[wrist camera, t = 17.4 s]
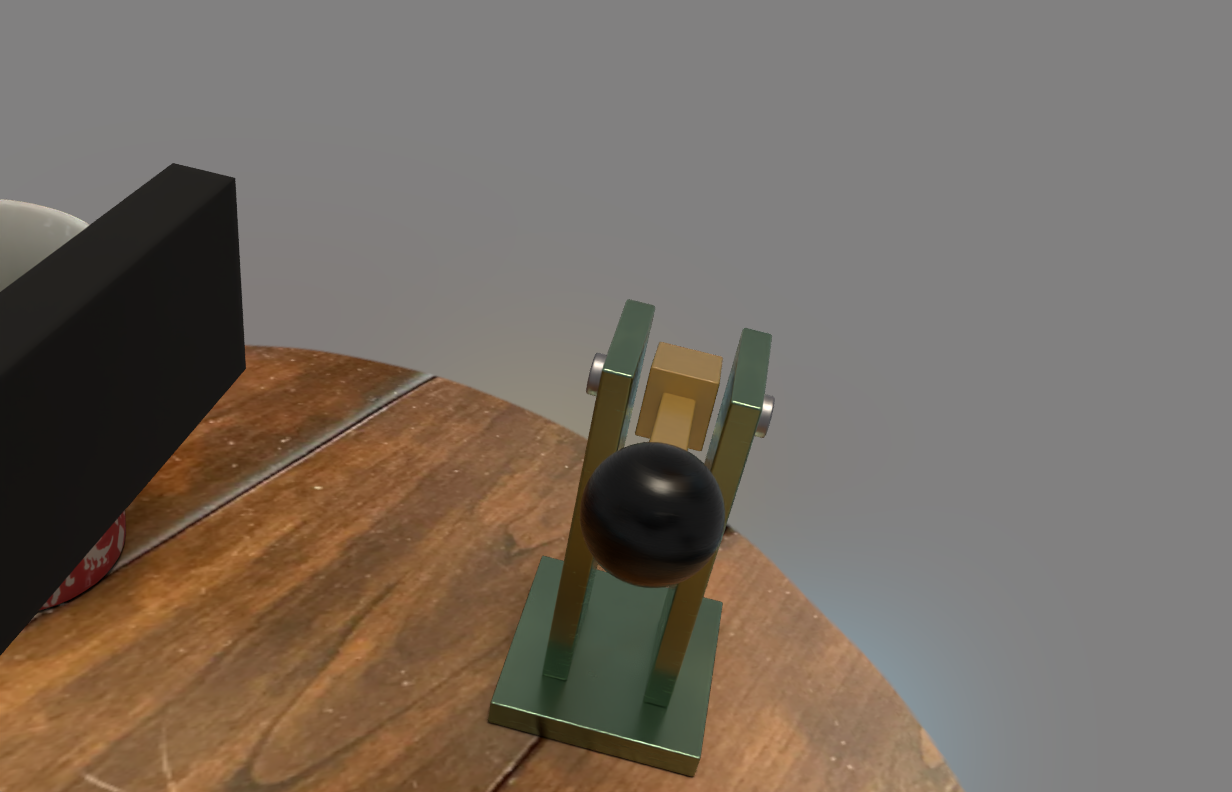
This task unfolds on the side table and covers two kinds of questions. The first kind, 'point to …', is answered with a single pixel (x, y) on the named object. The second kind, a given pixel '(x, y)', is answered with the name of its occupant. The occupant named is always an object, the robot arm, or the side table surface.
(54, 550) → the robot arm
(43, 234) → the mug
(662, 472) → the switch lever
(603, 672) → the switch bracket
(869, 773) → the side table surface
